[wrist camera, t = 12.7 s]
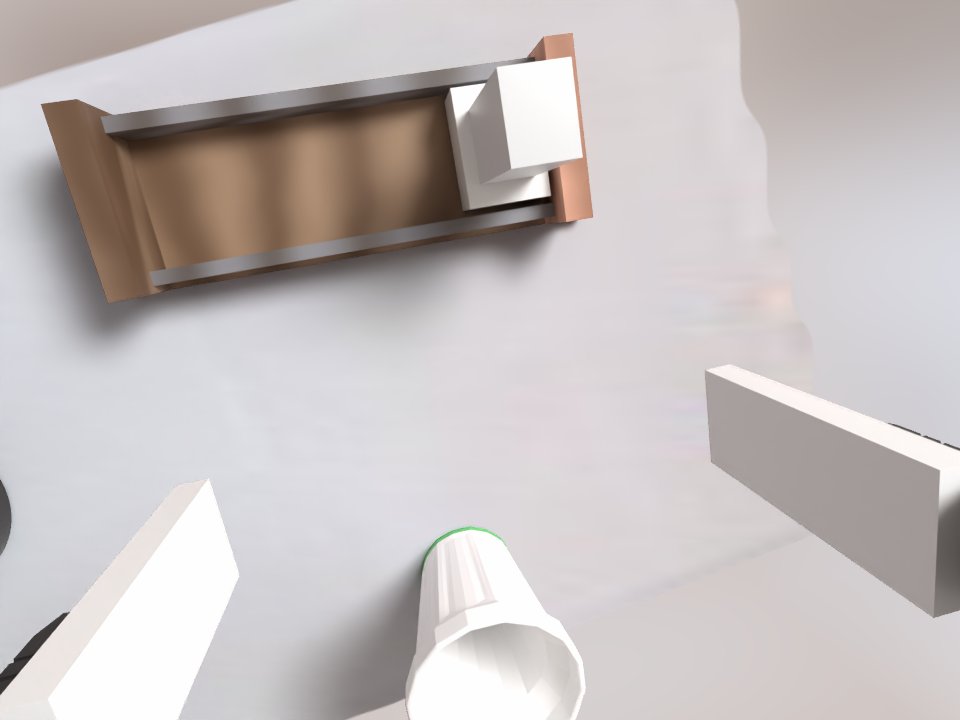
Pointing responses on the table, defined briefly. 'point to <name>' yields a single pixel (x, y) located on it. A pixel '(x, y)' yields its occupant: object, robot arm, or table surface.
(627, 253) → the table surface
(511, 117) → the block
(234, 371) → the table surface
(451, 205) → the track
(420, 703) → the cup
